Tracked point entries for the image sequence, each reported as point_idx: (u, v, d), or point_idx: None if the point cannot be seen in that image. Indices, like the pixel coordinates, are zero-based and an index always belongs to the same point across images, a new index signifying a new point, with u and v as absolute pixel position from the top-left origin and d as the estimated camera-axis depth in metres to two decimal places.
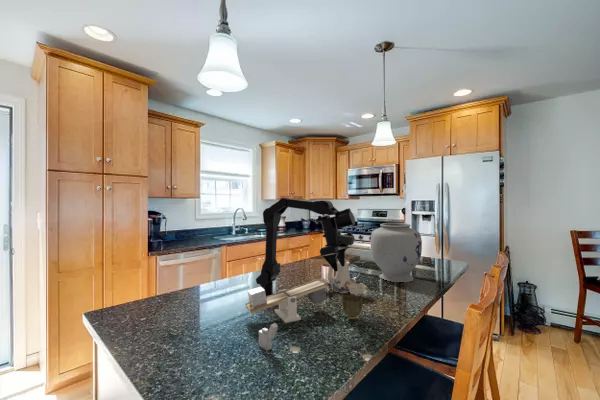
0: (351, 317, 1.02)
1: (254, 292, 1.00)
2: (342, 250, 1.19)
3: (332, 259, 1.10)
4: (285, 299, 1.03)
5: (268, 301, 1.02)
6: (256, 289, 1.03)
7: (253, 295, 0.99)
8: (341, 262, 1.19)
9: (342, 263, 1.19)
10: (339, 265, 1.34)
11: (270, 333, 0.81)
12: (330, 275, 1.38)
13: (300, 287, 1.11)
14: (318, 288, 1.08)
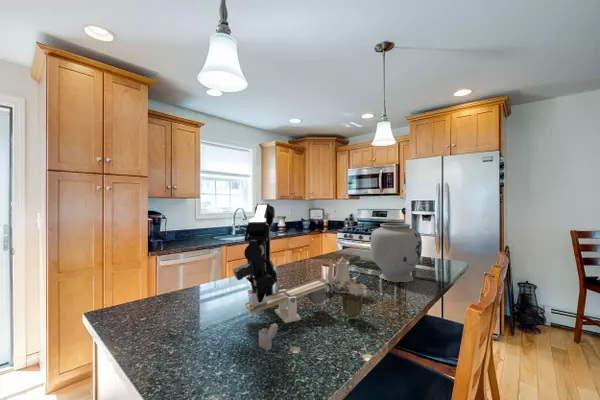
0: (351, 317, 1.02)
1: (254, 292, 1.00)
2: None
3: None
4: (285, 299, 1.03)
5: (268, 301, 1.02)
6: None
7: (253, 295, 0.99)
8: None
9: None
10: (339, 265, 1.34)
11: (270, 333, 0.81)
12: (330, 275, 1.37)
13: (300, 287, 1.11)
14: (318, 288, 1.08)
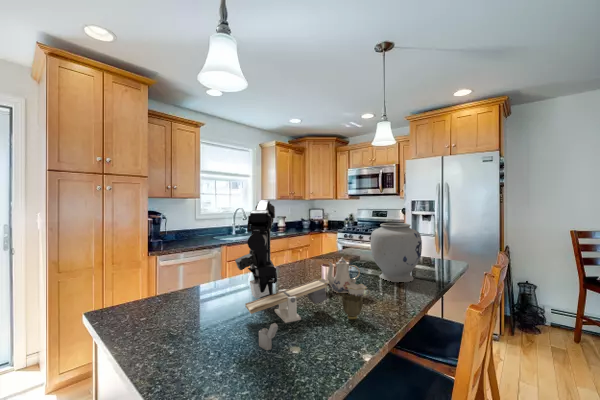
0: (351, 317, 1.02)
1: (256, 283, 1.00)
2: None
3: None
4: (285, 299, 1.03)
5: (268, 301, 1.02)
6: (258, 279, 1.03)
7: (255, 285, 0.99)
8: None
9: None
10: (339, 265, 1.34)
11: (270, 333, 0.81)
12: (330, 275, 1.37)
13: (300, 287, 1.11)
14: (318, 288, 1.08)
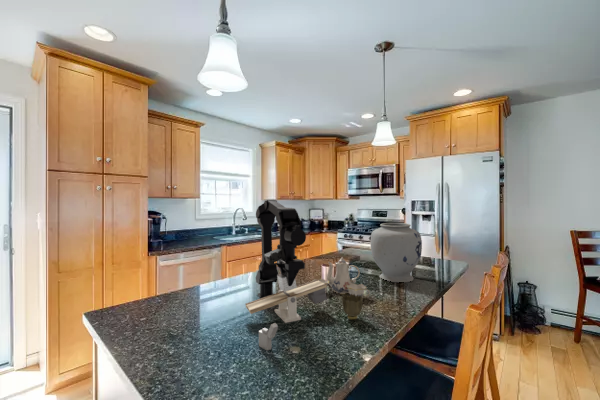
0: (351, 317, 1.02)
1: (285, 276, 1.04)
2: None
3: None
4: (285, 299, 1.03)
5: (268, 301, 1.02)
6: (285, 274, 1.07)
7: (284, 279, 1.04)
8: None
9: None
10: (338, 266, 1.33)
11: (270, 333, 0.81)
12: (329, 276, 1.37)
13: (300, 287, 1.11)
14: (318, 288, 1.08)
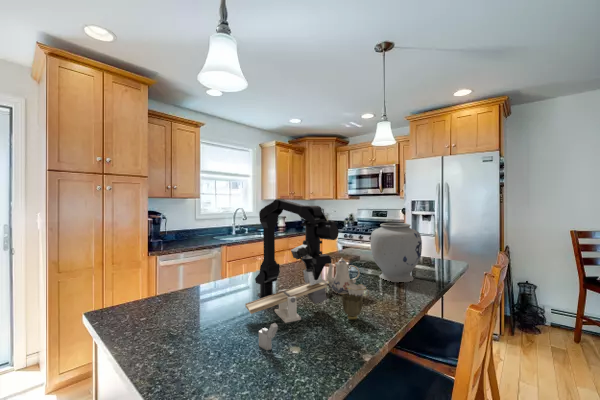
0: (351, 317, 1.02)
1: (311, 271, 1.09)
2: None
3: None
4: (285, 299, 1.03)
5: (268, 301, 1.02)
6: (311, 268, 1.12)
7: (310, 273, 1.08)
8: None
9: None
10: (338, 266, 1.33)
11: (270, 333, 0.81)
12: (329, 276, 1.36)
13: (300, 287, 1.11)
14: (318, 288, 1.08)
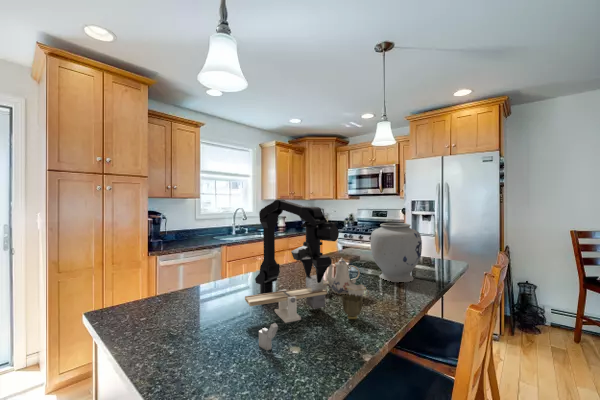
0: (351, 317, 1.02)
1: (314, 278, 1.09)
2: None
3: None
4: (285, 298, 1.03)
5: (268, 298, 1.02)
6: (314, 276, 1.12)
7: (313, 280, 1.08)
8: None
9: None
10: (338, 266, 1.33)
11: (270, 333, 0.81)
12: (329, 276, 1.36)
13: (300, 290, 1.11)
14: (318, 293, 1.08)
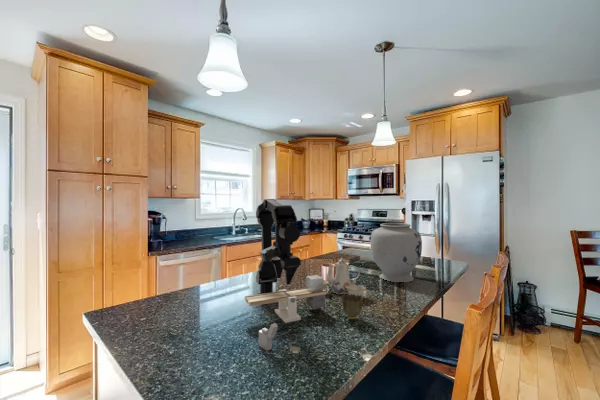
0: (351, 317, 1.02)
1: (314, 278, 1.09)
2: None
3: None
4: (285, 298, 1.03)
5: (268, 298, 1.02)
6: (314, 276, 1.12)
7: (313, 280, 1.08)
8: None
9: None
10: (338, 266, 1.32)
11: (270, 333, 0.81)
12: (329, 276, 1.36)
13: (300, 290, 1.11)
14: (318, 293, 1.08)
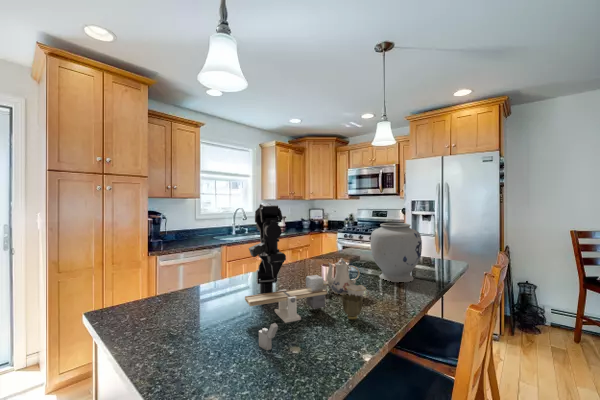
0: (351, 317, 1.02)
1: (314, 278, 1.09)
2: None
3: None
4: (285, 298, 1.03)
5: (268, 298, 1.02)
6: (314, 276, 1.12)
7: (313, 280, 1.08)
8: None
9: None
10: (338, 266, 1.32)
11: (270, 333, 0.81)
12: (329, 276, 1.35)
13: (300, 290, 1.11)
14: (318, 293, 1.08)
